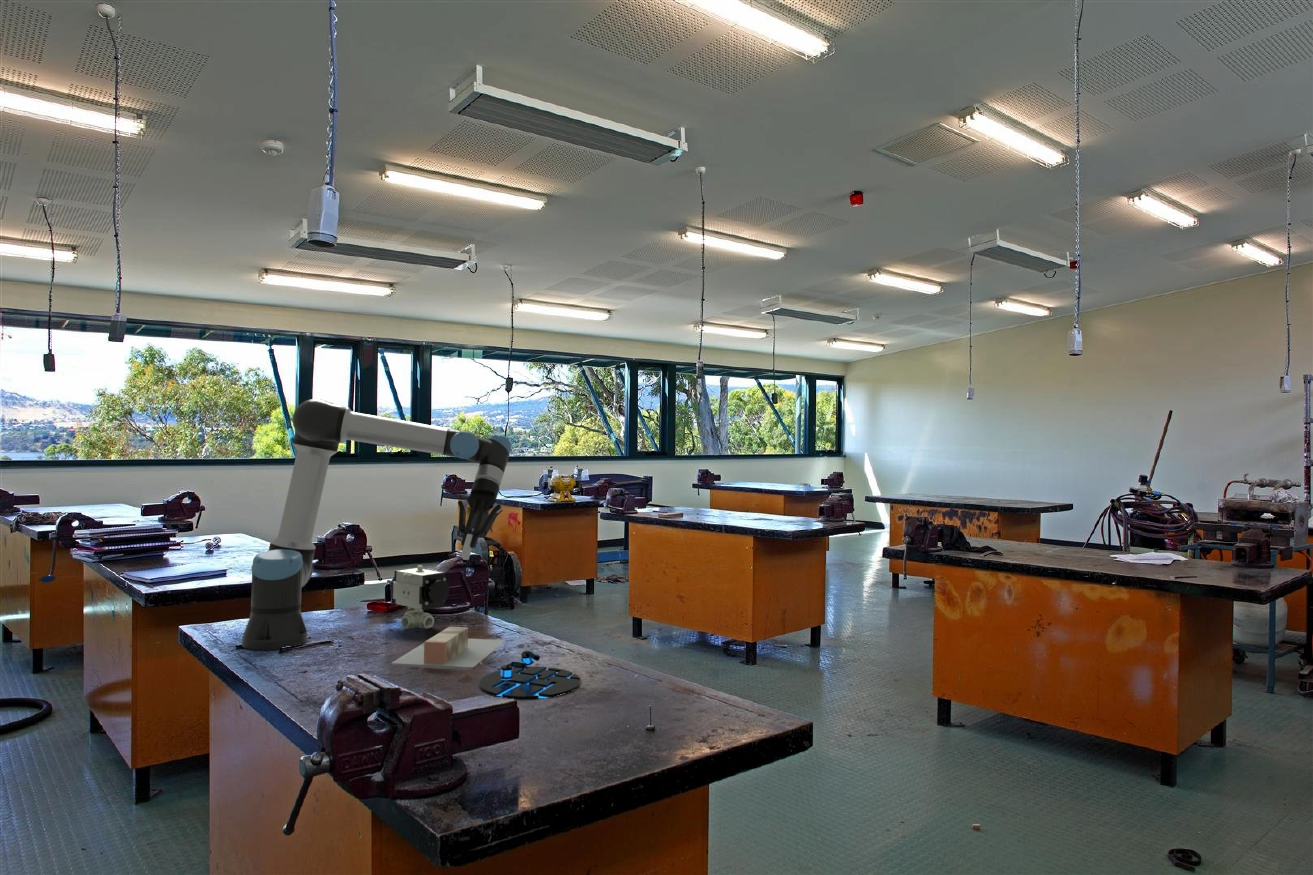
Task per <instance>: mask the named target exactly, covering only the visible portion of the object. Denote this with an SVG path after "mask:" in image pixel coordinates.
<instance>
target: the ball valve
mask: <svg viewBox="0 0 1313 875" xmlns="http://www.w3.org/2000/svg"><path fill="white" fill-rule="evenodd" d="M446 580H447V578H446V572H442V571H436V570H431V569H425V568H424V566H423V565H421V564H420V565H419V564H418V565H417V567H411V568H404V569H402V568H401V569H396V570H394V576H393V578H391V581H390V598H391V599H393V604H395V605H399V606H402V607H403V606H405V607H407V610H409V611H406V612H405V613H404V615H402V617H401V621H400V623H401V624H400V625H401V627H402V628H403V629H406V630H408V629H409V630H410V629H416V628H418V629H425V630H426V629H430V628H432V627H433V625H434V623H435V619H434V617H433V615H432V614H431V613H428V612H426V610H432V609H437V608H442V607H445V606H446V602H445V601H446V600H447V599H448V597H449V595H450V586H449V584H448V582H447V581H446ZM411 609H412V610H411Z"/></svg>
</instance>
